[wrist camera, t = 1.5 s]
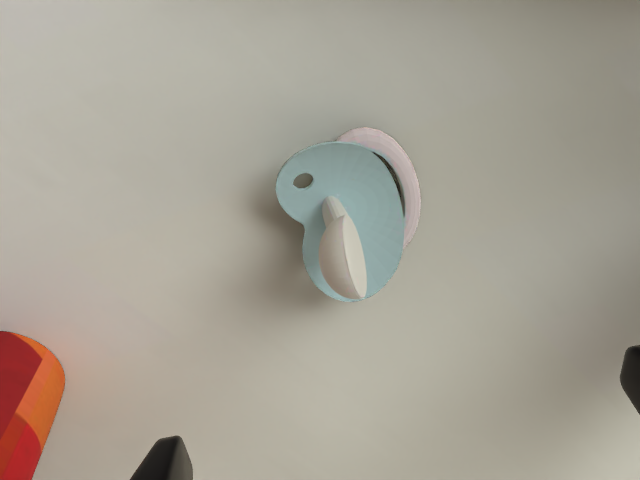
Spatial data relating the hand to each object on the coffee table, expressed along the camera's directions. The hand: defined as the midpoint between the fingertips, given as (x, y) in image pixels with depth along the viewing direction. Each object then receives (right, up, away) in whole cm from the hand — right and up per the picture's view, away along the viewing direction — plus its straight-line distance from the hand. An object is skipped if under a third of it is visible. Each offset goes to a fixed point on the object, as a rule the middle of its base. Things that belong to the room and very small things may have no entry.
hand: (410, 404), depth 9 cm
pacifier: (0, +5, +12) cm, 13 cm away
